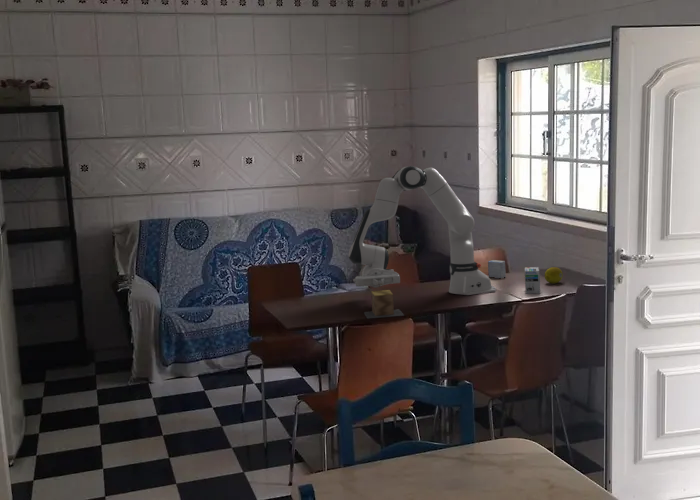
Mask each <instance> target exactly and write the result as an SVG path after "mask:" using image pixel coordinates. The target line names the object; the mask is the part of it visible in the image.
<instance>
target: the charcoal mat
mask: <svg viewBox="0 0 700 500" xmlns="http://www.w3.org/2000/svg"><path fill="white" fill-rule="evenodd" d="M363 314H364V316H365V318H366V319H367V320H368V319H369V320H370V319H380V318H391V317H402V316H403V317H404V316H405V314H404V313H403V312H402V311H401V309H399V308H398V309H397V308H396V309H394V314H391V315H380V316H375V314H374V313H373V311H372V310H371V311H364V312H363Z"/></svg>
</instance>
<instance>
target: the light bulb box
mask: <svg viewBox="0 0 700 500" xmlns="http://www.w3.org/2000/svg"><path fill="white" fill-rule="evenodd" d="M539 268H540V267H539V266H534V267H532V266H530V267H529V266H528V267H524V284H525V285H524V287H525V294H526V295H530V294H531V295H532V294H537V295H538V294H541V279H540V278H541V277H540V276H541V275H540V273H541V272H540V269H539Z"/></svg>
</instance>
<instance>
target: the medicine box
mask: <svg viewBox="0 0 700 500" xmlns="http://www.w3.org/2000/svg"><path fill="white" fill-rule="evenodd" d="M487 269H488V270H487V273H488V274H487V276H488V277H495V278H494V279H499V278H502V279H505V278H506V277H507V276H506V275H507V274H506V261H505V260H496V259H492V260H489V261H487ZM504 277H505V278H504Z"/></svg>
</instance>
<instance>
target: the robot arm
mask: <svg viewBox="0 0 700 500" xmlns="http://www.w3.org/2000/svg"><path fill="white" fill-rule="evenodd" d="M418 188H420V189H422V190H423V191H424V193H425V195H427V197H428V199H430V201H431V203H432V204H433V205H434V207H435V208H436V210H437V211H438V212H439V214H440V215H441V216H442V217H443V219H444V220H445V222H446V223H447V228H448V229H447V230H448V240H449V248H450V249H449V251H450V252H449V253H450V263H449V274H450V283H449V288H448V293H450V294H455V295H464V296H470V295H479V294H481V295H482V294H487V293H489V294H490V293H494V292H496V291H497V287H495V286H493V285H492V282H491V279H490V278H489V277H488V274H486V273H484V271H483V272H482V271H481V270H480V268H482V264H481V263H480V262H476V261H475V250H474V249H475V248H474V240H473V233H472V232H473V230H474V228H475V225H476V223H475V219H474V217H473V215H472V214H471V213H470V212H469V210H468V209H467V207H466V206H465V205H464V203H463V202H462V201H461V200H460V198H459V197H458V196H457V194H456V193H455V191H454V190H453V189H452V187H451V186H450V185H449V183H448V182H447V180H446V179H445V178H444V176H442V175H441V173H440V172H439V171H438V170H437V169H435V168H434V167H427V168H424V169H421V168H419V167H417V166H414V165H410V166H409V165H408V166H403V167H402V168H401V169H399V170H397V171H396V172H395V174H394V175H393V176H392V177H384V178H382V179H380V182H379V184H378V187H377V189H376V193H375V197H374V202H373V204H372V206H370V208H367V209H366V210H365V212H364V214H363V215H362V218H361V221H360V222H359V226H358V228H357V232H356V234H355V237H354V239H353V241H352V244H351V246H350V247H349V250H348V259H349V260H350V261H351V262H352V264H353V265H365V266H364V267H363V269H362V275H357V276H355V278H353V279H352V280H353V282H354V283H355V286H356V287H367V286H369V287H370V288H375V289H376V288H380V287H382V286H386V285H393V284H400V283H401V276H400V274H399V273H398V272H397V271H394V270H395V269H390V268H388V269H387V267H388V265H389V261H390V260H389V259H390V257H389V256H390V255H389V252H388V250H387V249H386V247H384V246H378V245H372V244H369V243H364V240H365V237H366V235H367V232H368V229H369V227H370V226H371V225H372V224H375V223H377V222H383V221H388V220H390V219H392V218H393V217H395V215H396V213H397V210H398V206H399V200H400V196H401V194H402V193H403V192H405V191H412V190H415V189H418Z"/></svg>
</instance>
